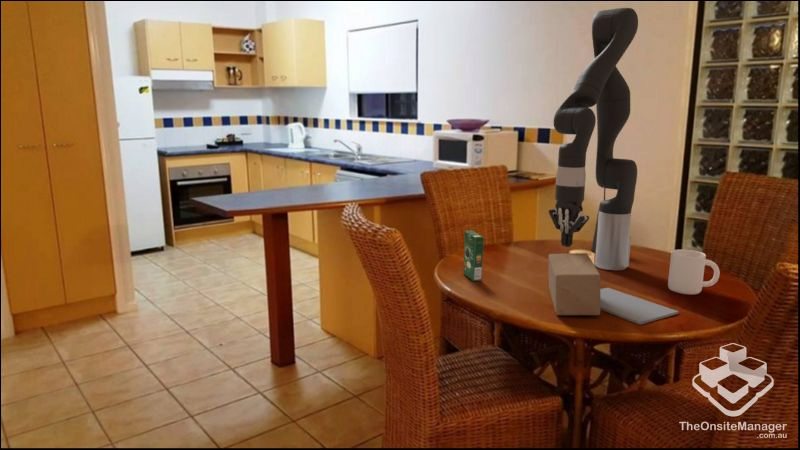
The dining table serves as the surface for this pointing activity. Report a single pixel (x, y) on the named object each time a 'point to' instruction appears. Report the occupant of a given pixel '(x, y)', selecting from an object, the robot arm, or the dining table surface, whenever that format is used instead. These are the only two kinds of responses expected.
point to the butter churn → (596, 231)
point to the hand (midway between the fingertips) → (566, 246)
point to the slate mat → (632, 307)
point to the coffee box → (473, 255)
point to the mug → (689, 271)
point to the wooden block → (574, 284)
